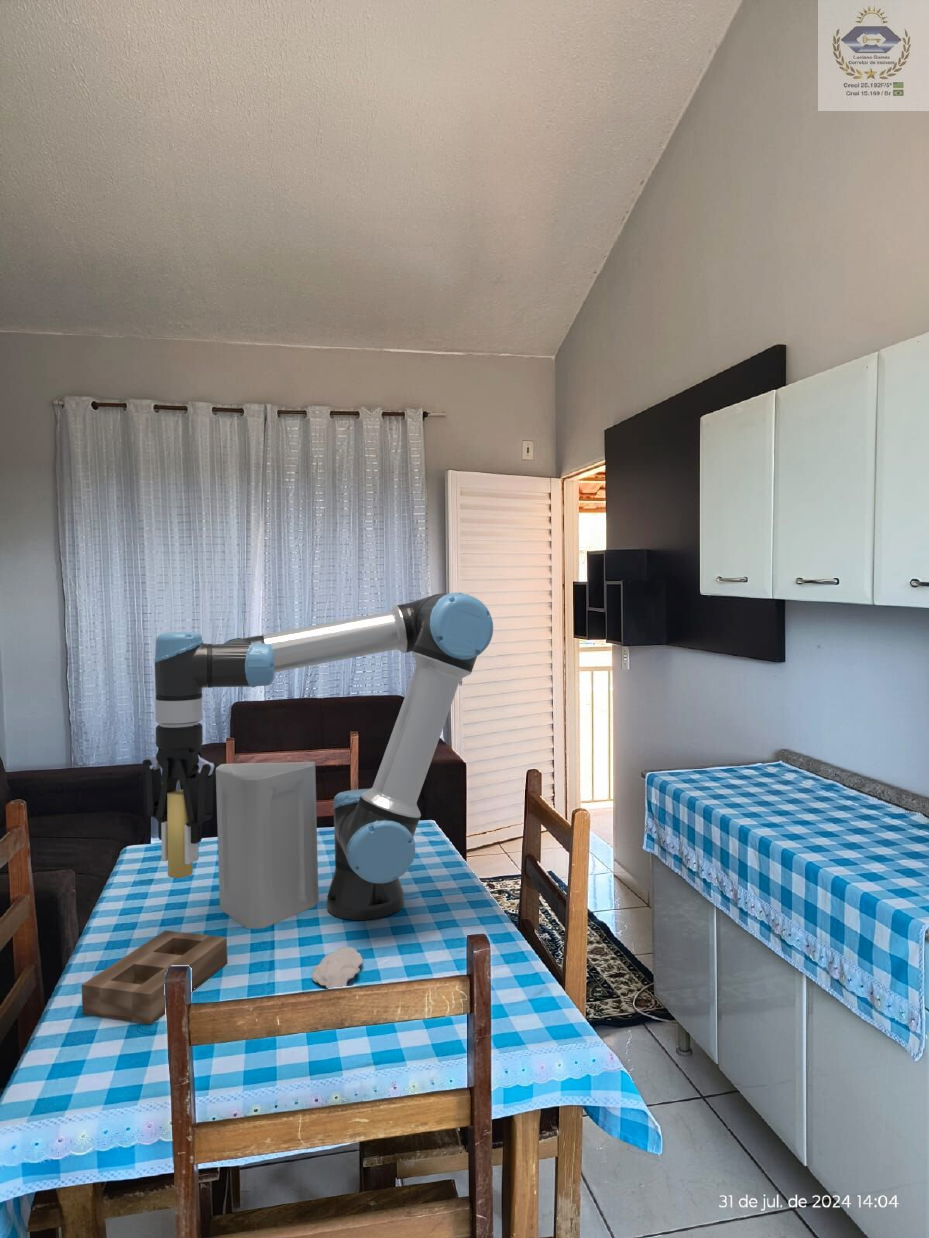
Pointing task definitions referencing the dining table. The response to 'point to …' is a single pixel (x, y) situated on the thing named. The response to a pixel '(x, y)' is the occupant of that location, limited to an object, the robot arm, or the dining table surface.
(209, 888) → the dining table surface
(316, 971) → the stone tool
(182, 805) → the dowel
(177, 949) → the socket board
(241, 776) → the grey triangular prism
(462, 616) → the robot arm
